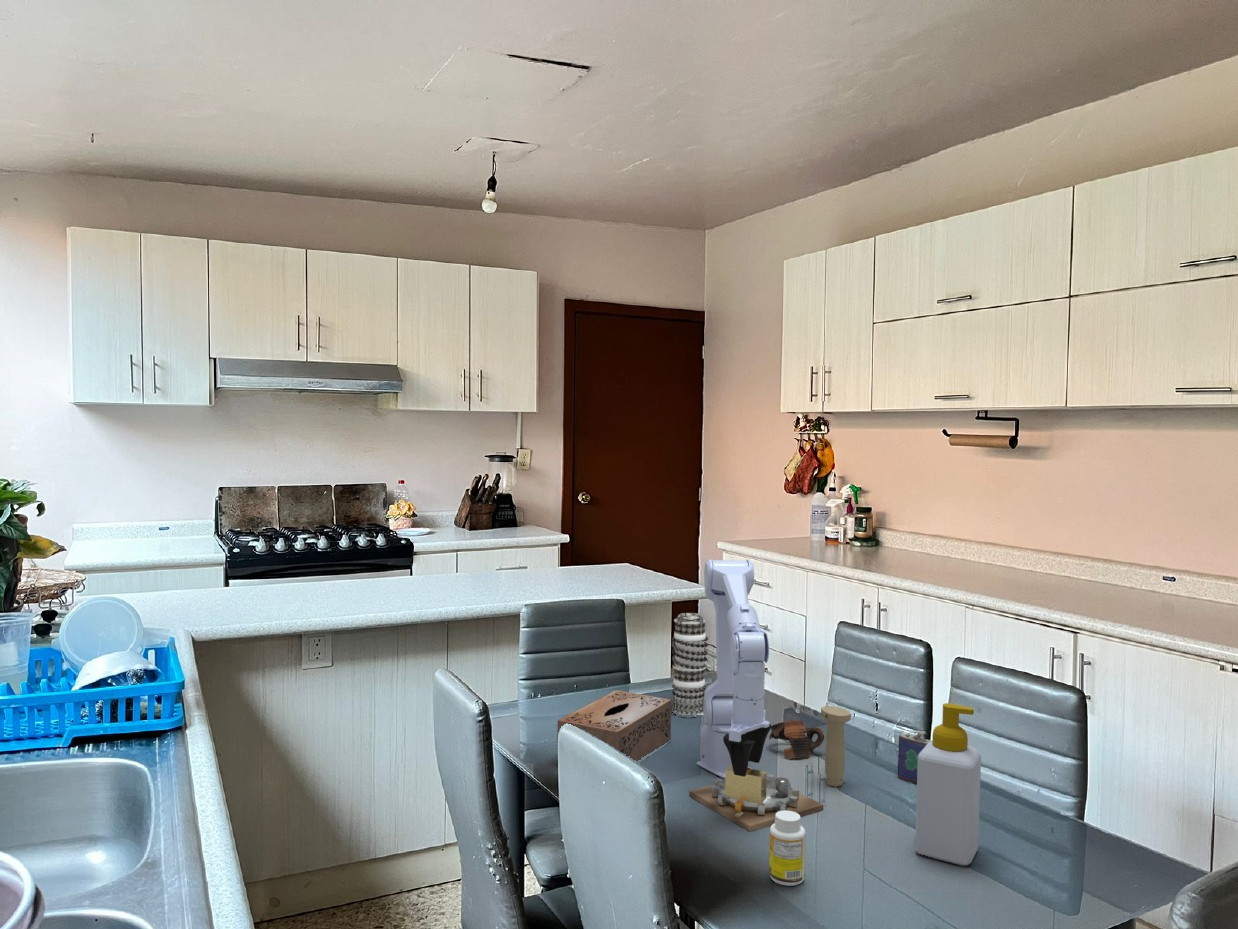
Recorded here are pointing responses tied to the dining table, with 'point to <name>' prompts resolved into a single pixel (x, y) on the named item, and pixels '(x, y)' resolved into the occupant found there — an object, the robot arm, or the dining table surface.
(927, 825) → the soap bottle
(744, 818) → the sprocket base
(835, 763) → the handle
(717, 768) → the robot arm
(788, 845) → the supplement bottle
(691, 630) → the decorative candle
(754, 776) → the yellow block
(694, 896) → the dining table surface
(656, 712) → the tissue box cover
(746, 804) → the sprocket
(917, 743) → the flask
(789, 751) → the pottery mug
